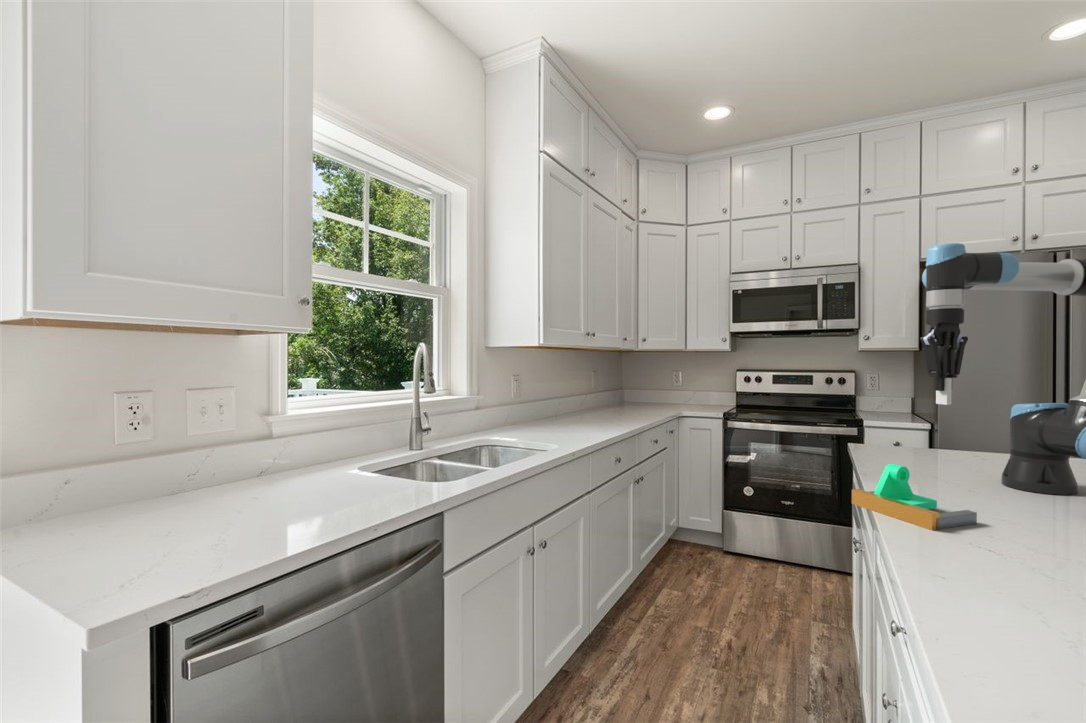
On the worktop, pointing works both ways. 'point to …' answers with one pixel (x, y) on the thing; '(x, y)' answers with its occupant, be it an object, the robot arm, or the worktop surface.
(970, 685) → the worktop surface
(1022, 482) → the robot arm
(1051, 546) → the worktop surface
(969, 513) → the dock
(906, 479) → the camera mount
